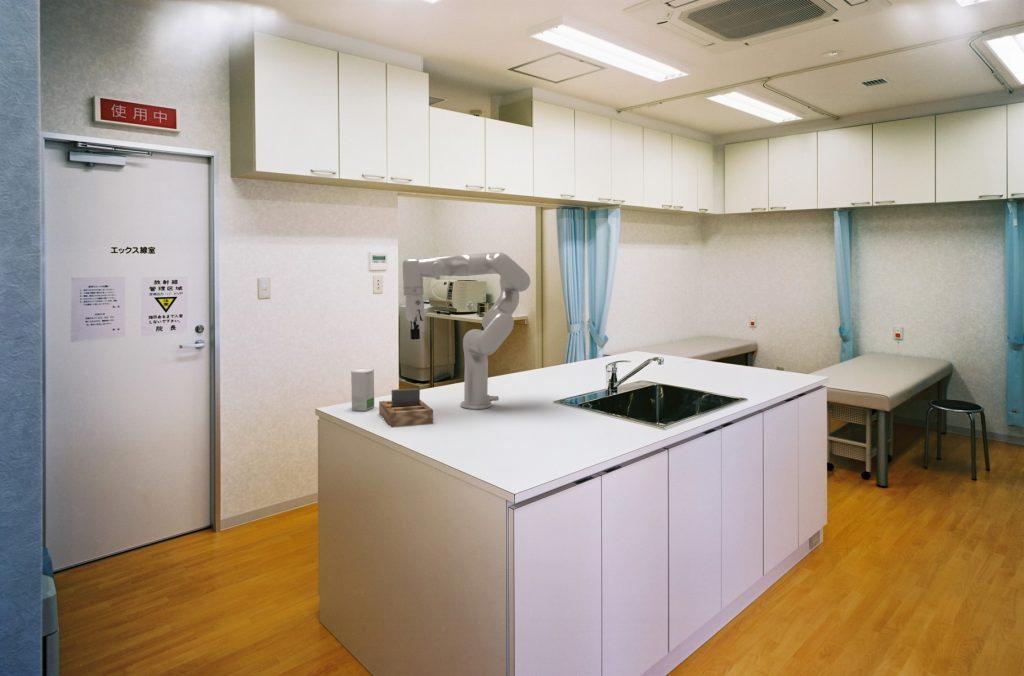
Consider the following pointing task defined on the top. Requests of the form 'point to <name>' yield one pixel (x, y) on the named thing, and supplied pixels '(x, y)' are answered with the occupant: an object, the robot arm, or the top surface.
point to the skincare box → (362, 389)
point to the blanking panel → (405, 397)
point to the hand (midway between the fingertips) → (415, 339)
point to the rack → (405, 414)
